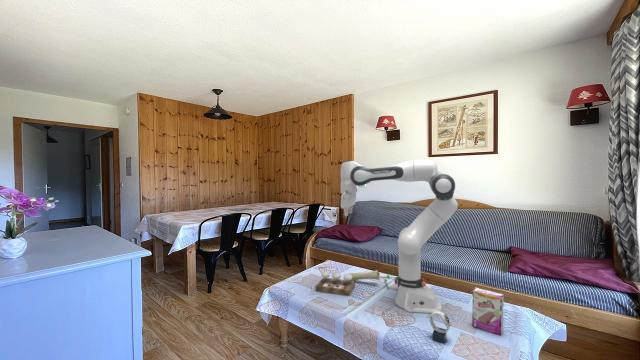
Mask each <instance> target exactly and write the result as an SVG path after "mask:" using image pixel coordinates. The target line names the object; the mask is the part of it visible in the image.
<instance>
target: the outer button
mask: <svg viewBox="0 0 640 360" xmlns="http://www.w3.org/2000/svg"><path fill="white" fill-rule="evenodd" d="M320 274H321V275H320V276H321V278H322V279H323V278H330V271H325V270H324V271H322V272H320Z"/></svg>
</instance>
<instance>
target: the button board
mask: <svg viewBox="0 0 640 360" xmlns="http://www.w3.org/2000/svg"><path fill="white" fill-rule="evenodd" d="M355 281H356V280H354V281H349V280H344V279H341V278H340V279H333V278H330V277H327V278H323V277H322V278H321V280H319V282H318V283H317V284H316V286H315V292H320V293H324V294H325V293H326V294H332V295H340V296H346V297H350V295H351V294H352V292H353V291H354V288H355V287H356V285H355V284H356V282H355Z"/></svg>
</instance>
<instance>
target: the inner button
mask: <svg viewBox="0 0 640 360" xmlns="http://www.w3.org/2000/svg"><path fill="white" fill-rule="evenodd" d="M343 280H352V275H351V274H349V273H344V274H343Z"/></svg>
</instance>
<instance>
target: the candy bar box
mask: <svg viewBox="0 0 640 360" xmlns="http://www.w3.org/2000/svg"><path fill="white" fill-rule="evenodd" d="M504 297H505V295H504V294H503V293H499V292H494V291H491V290H487V289H484V288H480V287H476V286H475V287H474V289H473V290H472V316H471V317H472V318H471V321H472V322H471V325H472V327H473V328H476V329H480V330H483V331H486V332H488V333H489V332H490V333H491V334H495V335H497V336H502V333H503V332H504V304H505V303H504V301H505V299H504Z"/></svg>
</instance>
